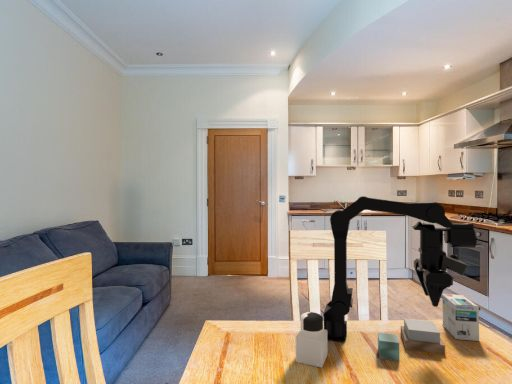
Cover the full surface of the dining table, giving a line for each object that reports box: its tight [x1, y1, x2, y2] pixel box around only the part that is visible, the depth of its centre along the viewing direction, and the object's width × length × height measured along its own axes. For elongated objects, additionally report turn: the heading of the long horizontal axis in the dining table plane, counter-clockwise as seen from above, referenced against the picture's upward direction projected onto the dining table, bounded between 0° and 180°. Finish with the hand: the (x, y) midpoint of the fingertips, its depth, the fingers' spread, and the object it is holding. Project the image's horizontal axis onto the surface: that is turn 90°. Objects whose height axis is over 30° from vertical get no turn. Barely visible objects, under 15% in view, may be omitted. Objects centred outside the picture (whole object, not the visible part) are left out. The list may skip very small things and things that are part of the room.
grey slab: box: [403, 318, 441, 343], centre depth 92 cm, size 8×8×3 cm
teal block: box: [377, 332, 400, 362], centre depth 85 cm, size 5×5×5 cm
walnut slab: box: [400, 325, 446, 355], centre depth 92 cm, size 10×10×3 cm
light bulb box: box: [441, 293, 480, 342], centre depth 98 cm, size 11×7×11 cm, turn 168°
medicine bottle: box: [295, 311, 329, 368], centre depth 84 cm, size 7×7×12 cm
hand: (431, 300), depth 88 cm, fingers open, 9 cm apart
